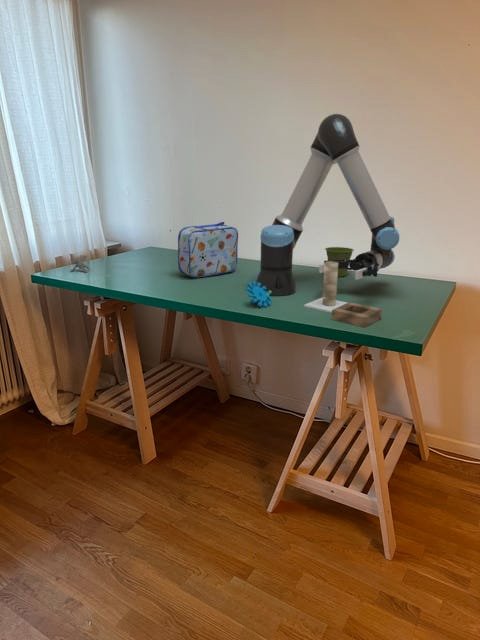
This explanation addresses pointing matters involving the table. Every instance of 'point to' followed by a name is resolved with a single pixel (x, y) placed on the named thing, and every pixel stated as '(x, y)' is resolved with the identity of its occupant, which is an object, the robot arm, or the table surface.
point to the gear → (259, 294)
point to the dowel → (330, 283)
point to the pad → (319, 306)
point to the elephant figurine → (80, 264)
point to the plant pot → (339, 256)
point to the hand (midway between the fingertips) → (337, 272)
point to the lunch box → (207, 250)
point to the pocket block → (356, 314)
